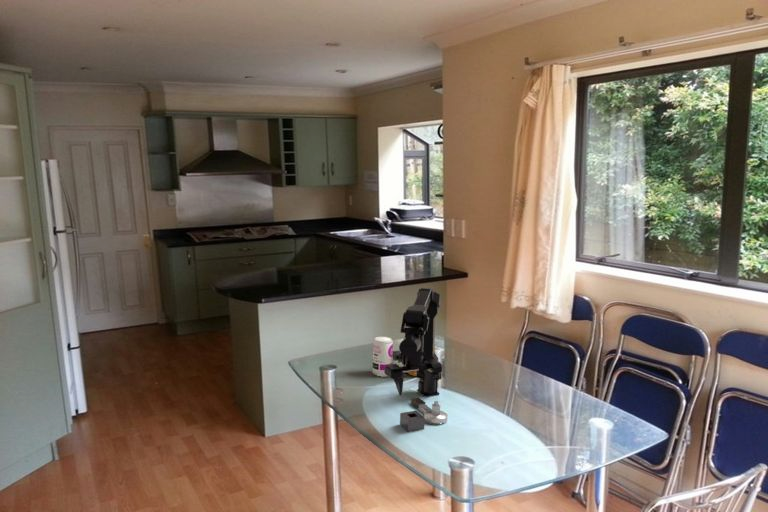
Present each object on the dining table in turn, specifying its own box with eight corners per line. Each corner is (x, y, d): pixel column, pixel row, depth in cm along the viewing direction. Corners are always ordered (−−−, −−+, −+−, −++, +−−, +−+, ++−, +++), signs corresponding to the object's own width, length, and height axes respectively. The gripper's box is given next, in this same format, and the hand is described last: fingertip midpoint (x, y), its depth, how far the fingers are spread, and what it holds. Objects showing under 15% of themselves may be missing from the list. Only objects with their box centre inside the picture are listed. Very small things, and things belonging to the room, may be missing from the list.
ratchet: (424, 401, 217) (425, 384, 216) (451, 422, 199) (452, 404, 198) (405, 404, 213) (405, 387, 212) (430, 426, 196) (431, 407, 195)
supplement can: (394, 372, 246) (395, 337, 244) (388, 378, 239) (389, 342, 236) (376, 369, 249) (377, 335, 247) (369, 375, 241) (370, 340, 239)
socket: (415, 421, 199) (416, 410, 198) (424, 429, 194) (424, 417, 193) (399, 424, 197) (400, 413, 196) (407, 432, 191) (408, 420, 191)
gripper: (428, 338, 202) (426, 381, 205) (378, 343, 195) (377, 388, 197) (444, 347, 192) (442, 393, 195) (392, 353, 185) (391, 401, 187)
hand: (412, 393), depth 194 cm, fingers open, 9 cm apart
